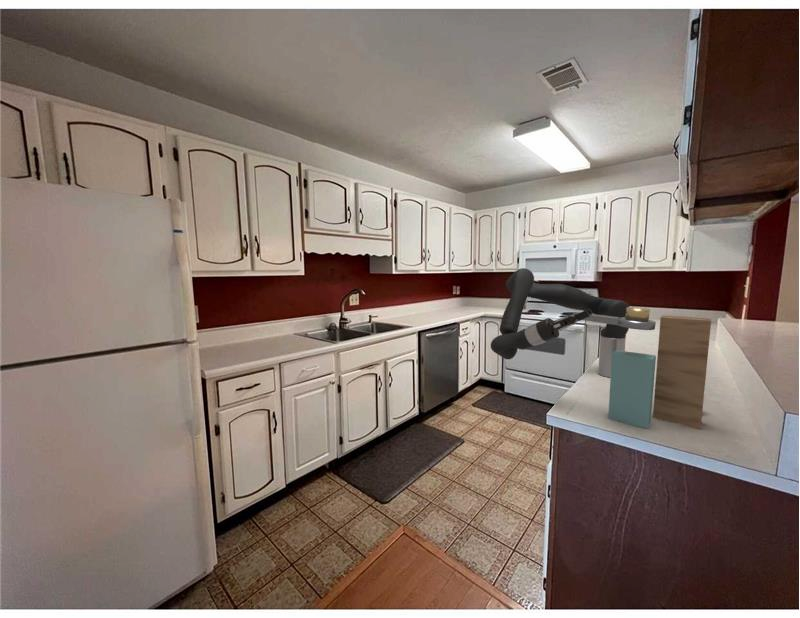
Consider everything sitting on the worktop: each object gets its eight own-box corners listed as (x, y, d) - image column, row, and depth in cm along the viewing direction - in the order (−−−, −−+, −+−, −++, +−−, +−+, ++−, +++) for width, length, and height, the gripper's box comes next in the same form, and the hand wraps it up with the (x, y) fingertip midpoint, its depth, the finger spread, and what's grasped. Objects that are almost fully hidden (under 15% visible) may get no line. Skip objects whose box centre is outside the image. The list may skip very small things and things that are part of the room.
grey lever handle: (578, 316, 110) (579, 301, 109) (656, 327, 95) (659, 308, 94) (569, 320, 104) (571, 303, 103) (652, 331, 89) (655, 312, 88)
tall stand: (655, 411, 105) (663, 314, 101) (701, 422, 97) (711, 318, 93) (652, 417, 100) (660, 317, 96) (700, 429, 93) (711, 320, 89)
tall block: (612, 412, 104) (616, 350, 102) (650, 422, 97) (655, 355, 95) (608, 418, 100) (612, 353, 98) (647, 428, 93) (653, 359, 91)
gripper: (528, 325, 111) (577, 304, 99) (544, 320, 121) (590, 300, 109) (538, 345, 109) (589, 326, 98) (553, 338, 119) (601, 320, 108)
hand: (589, 312), depth 104 cm, fingers closed on grey lever handle, 3 cm apart
